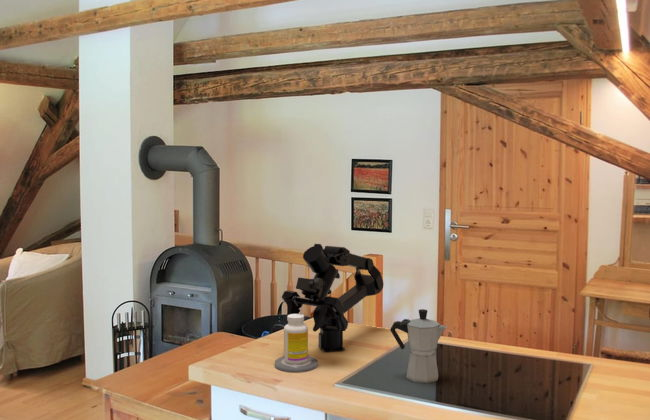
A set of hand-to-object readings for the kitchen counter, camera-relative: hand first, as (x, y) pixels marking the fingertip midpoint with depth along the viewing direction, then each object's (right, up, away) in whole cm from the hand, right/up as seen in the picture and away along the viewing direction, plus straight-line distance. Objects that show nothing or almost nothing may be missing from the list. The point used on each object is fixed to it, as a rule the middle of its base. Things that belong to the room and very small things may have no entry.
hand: (300, 328), depth 173 cm
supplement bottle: (-1, -9, -1) cm, 9 cm away
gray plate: (-1, -10, -1) cm, 10 cm away
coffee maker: (+31, -11, -10) cm, 35 cm away
